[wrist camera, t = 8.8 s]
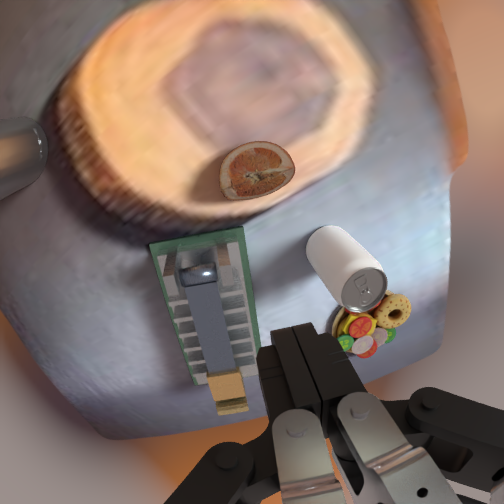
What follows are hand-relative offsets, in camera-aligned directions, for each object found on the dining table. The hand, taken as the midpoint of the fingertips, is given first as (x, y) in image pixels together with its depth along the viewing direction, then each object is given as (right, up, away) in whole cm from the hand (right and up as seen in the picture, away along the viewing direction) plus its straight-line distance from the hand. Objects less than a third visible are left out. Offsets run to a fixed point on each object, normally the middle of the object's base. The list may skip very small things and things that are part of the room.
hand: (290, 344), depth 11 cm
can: (+9, +4, +32) cm, 33 cm away
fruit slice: (-2, +13, +26) cm, 29 cm away
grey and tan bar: (-6, -7, +28) cm, 29 cm away
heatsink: (-7, -6, +34) cm, 35 cm away
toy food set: (+18, -8, +39) cm, 44 cm away
